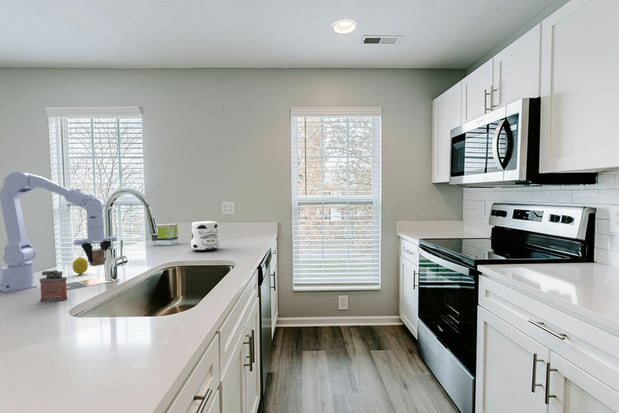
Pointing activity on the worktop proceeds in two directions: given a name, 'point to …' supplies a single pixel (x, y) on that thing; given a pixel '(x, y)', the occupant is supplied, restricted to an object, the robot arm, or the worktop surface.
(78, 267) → the lemon
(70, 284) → the mat
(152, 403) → the worktop surface
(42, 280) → the lighter
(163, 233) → the tea box
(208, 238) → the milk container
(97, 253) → the walnut block
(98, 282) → the tile
